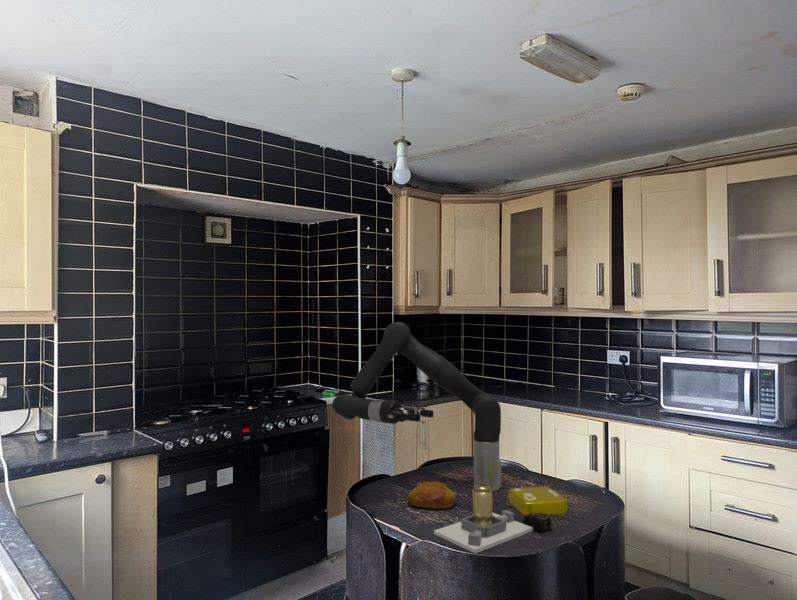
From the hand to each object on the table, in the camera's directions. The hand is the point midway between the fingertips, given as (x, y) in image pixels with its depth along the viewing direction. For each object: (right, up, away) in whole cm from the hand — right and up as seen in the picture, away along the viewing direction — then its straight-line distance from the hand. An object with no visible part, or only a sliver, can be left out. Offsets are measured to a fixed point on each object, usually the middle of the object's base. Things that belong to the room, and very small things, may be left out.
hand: (426, 416), depth 171 cm
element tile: (+36, -31, +3) cm, 48 cm away
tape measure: (+32, -30, -15) cm, 46 cm away
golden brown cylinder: (+15, -28, -18) cm, 37 cm away
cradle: (+15, -29, -18) cm, 38 cm away
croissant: (+2, -31, +6) cm, 31 cm away
